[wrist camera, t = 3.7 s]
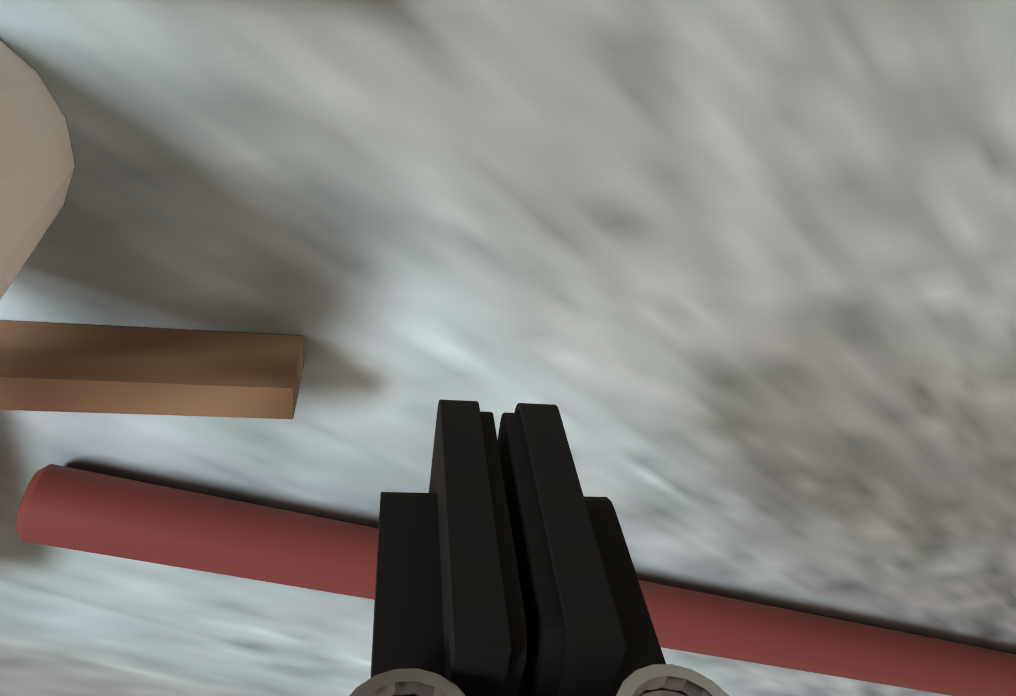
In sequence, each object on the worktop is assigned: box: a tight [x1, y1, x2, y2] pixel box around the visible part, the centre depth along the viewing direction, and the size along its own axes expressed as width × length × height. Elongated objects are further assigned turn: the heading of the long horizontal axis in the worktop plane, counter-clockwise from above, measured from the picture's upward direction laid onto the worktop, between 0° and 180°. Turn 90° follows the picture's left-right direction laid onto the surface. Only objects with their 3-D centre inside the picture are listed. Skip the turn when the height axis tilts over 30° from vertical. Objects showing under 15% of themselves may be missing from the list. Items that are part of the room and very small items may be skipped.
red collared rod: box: [16, 464, 1016, 696], centre depth 28 cm, size 45×3×3 cm, turn 67°
